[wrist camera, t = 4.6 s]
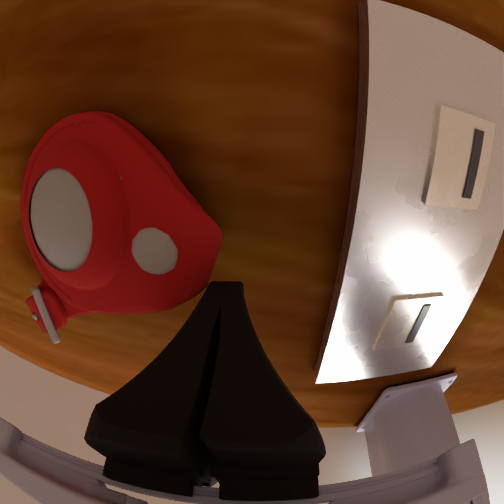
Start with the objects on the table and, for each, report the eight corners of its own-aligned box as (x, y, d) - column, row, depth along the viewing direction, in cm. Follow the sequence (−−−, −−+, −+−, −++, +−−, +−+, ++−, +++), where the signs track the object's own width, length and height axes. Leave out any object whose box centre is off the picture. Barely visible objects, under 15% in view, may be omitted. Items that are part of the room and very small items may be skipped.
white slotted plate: (427, 356, 17) (432, 370, 16) (313, 371, 18) (315, 387, 17) (517, 68, 6) (534, 71, 5) (357, 3, 6) (370, -5, 5)
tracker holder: (14, 101, 7) (231, 139, 7) (78, 108, 11) (259, 150, 11) (11, 333, 11) (156, 432, 10) (56, 303, 15) (188, 375, 15)
